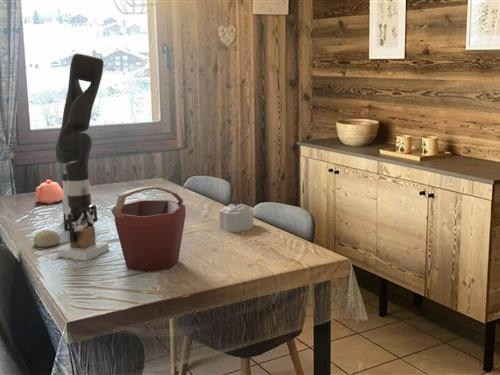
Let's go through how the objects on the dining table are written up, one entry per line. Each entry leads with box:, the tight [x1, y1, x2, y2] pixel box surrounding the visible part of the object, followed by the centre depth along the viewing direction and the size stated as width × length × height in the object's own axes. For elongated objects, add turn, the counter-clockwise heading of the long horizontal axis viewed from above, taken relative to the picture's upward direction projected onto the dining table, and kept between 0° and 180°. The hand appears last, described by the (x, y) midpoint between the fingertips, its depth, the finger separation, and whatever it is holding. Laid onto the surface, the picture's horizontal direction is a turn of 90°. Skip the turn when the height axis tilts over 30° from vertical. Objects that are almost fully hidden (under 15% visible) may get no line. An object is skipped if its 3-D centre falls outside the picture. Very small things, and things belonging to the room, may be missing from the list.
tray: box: [56, 241, 110, 261], centre depth 208 cm, size 12×12×3 cm
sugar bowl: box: [35, 179, 64, 205], centre depth 281 cm, size 12×14×10 cm
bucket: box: [110, 186, 187, 273], centre depth 195 cm, size 24×22×25 cm
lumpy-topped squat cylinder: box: [218, 203, 254, 233], centre depth 236 cm, size 10×13×9 cm
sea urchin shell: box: [32, 229, 61, 248], centre depth 219 cm, size 9×8×8 cm
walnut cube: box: [68, 224, 96, 249], centre depth 207 cm, size 6×6×6 cm
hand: (82, 238), depth 207 cm, fingers open, 8 cm apart
